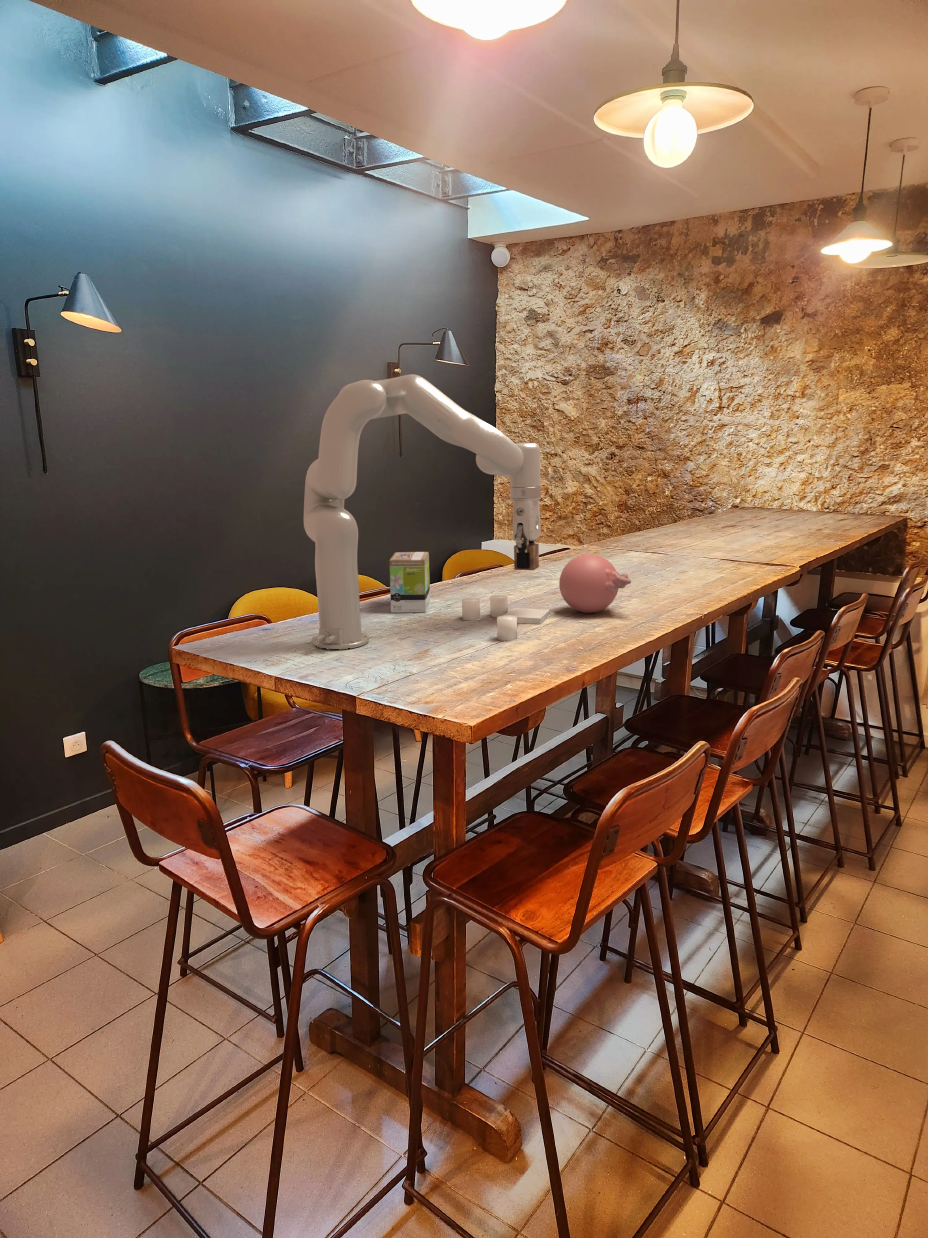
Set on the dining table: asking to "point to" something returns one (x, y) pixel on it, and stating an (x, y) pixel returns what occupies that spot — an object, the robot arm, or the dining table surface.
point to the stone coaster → (529, 615)
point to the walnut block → (534, 556)
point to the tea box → (409, 582)
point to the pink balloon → (590, 583)
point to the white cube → (470, 609)
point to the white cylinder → (498, 605)
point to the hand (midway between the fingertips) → (526, 565)
